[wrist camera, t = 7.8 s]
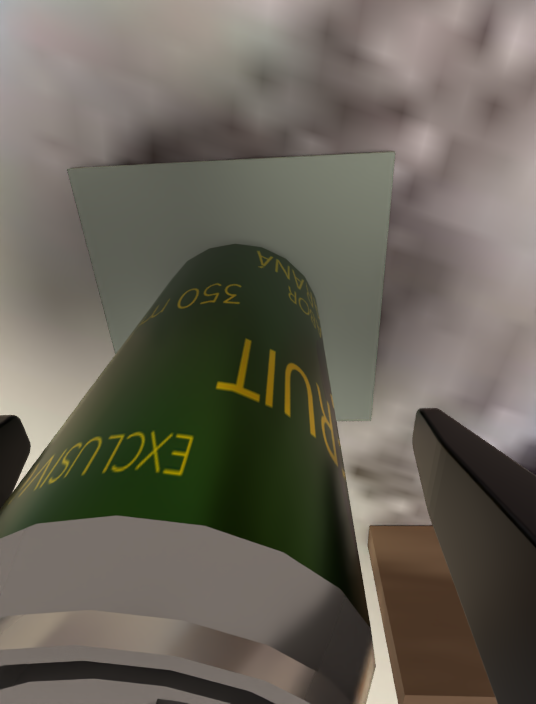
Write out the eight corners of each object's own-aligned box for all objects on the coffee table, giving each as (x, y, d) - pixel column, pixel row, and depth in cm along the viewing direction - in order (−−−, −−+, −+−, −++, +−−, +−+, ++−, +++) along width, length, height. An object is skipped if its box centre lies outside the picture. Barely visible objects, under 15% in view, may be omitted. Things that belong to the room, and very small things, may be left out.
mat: (369, 414, 17) (371, 420, 17) (136, 418, 18) (133, 424, 18) (392, 151, 12) (395, 151, 12) (72, 167, 13) (66, 169, 13)
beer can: (234, 398, 17) (144, 862, 6) (137, 298, 15) (-232, 730, 4) (347, 326, 15) (488, 804, 4) (254, 203, 13) (115, 534, 2)
